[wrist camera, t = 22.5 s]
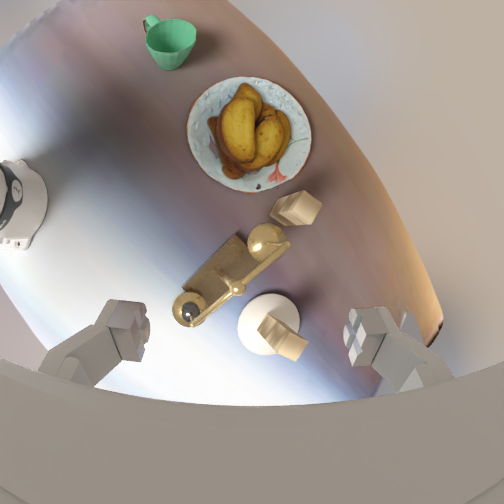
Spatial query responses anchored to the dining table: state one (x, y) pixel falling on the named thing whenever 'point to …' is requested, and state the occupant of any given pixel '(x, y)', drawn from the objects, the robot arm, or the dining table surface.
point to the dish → (256, 313)
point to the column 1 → (295, 209)
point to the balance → (228, 273)
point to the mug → (169, 40)
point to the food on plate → (249, 133)
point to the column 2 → (281, 337)
